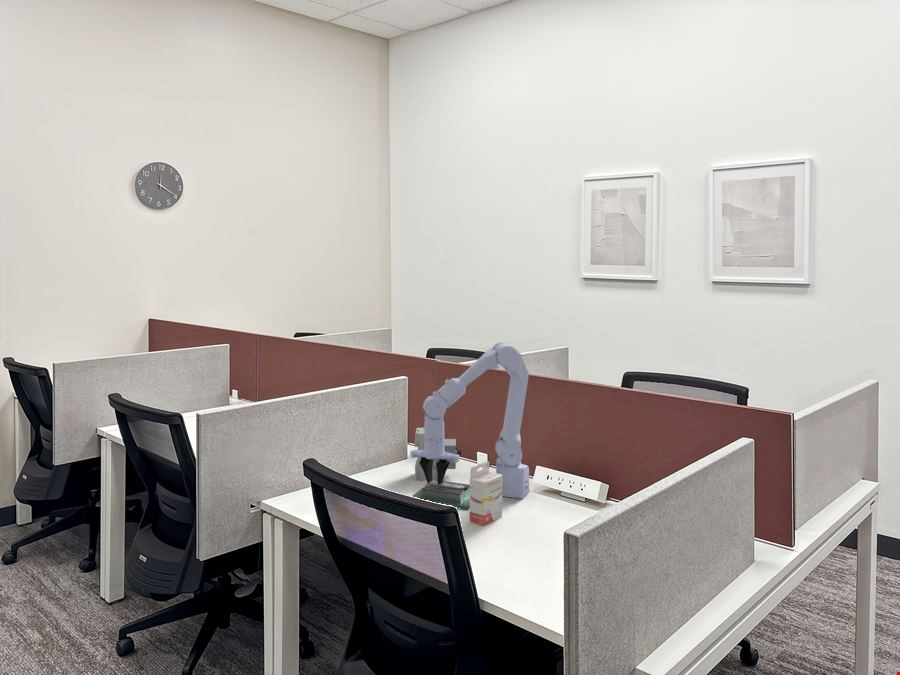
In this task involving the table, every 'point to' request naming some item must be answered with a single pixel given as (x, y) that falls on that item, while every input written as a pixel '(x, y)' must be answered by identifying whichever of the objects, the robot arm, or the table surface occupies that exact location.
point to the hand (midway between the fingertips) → (435, 483)
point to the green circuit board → (446, 495)
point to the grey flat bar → (447, 485)
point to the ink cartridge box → (485, 495)
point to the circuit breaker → (419, 473)
